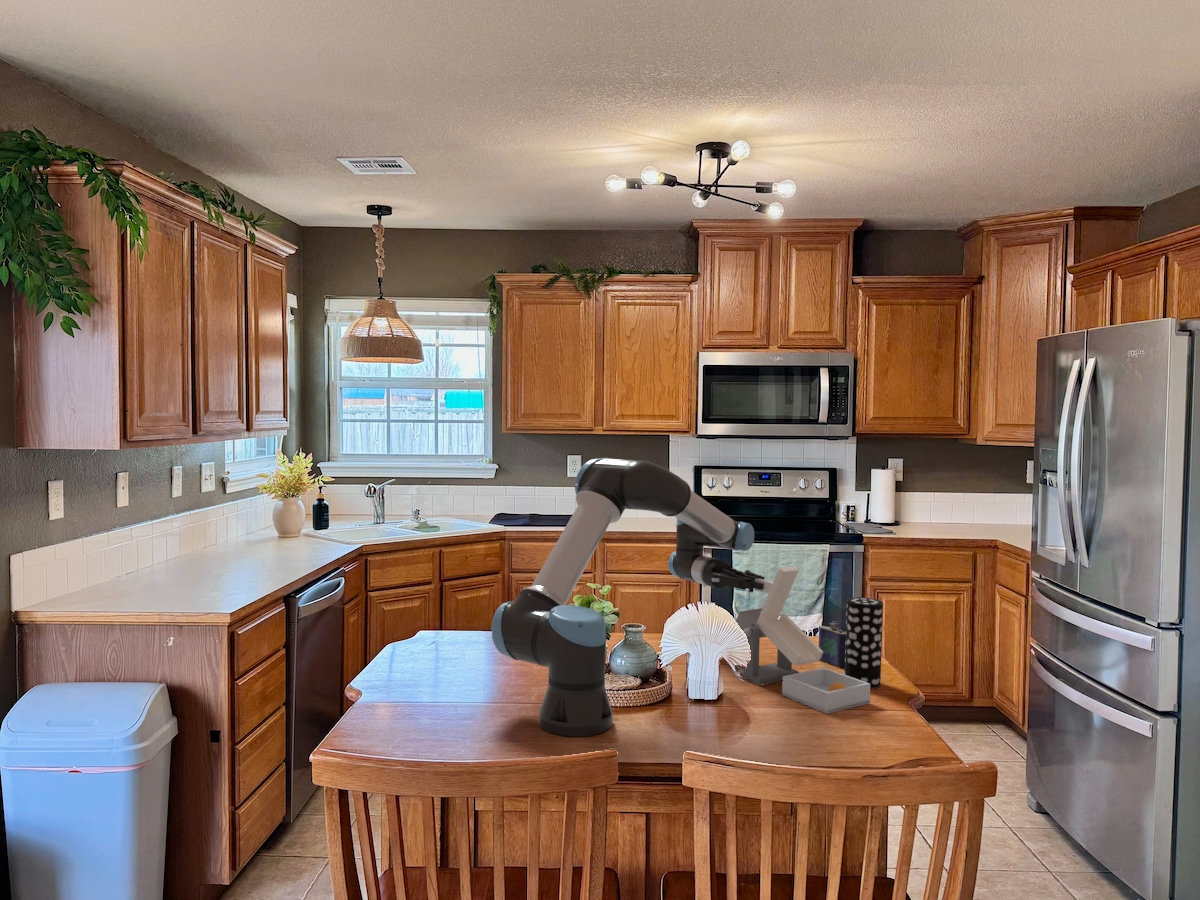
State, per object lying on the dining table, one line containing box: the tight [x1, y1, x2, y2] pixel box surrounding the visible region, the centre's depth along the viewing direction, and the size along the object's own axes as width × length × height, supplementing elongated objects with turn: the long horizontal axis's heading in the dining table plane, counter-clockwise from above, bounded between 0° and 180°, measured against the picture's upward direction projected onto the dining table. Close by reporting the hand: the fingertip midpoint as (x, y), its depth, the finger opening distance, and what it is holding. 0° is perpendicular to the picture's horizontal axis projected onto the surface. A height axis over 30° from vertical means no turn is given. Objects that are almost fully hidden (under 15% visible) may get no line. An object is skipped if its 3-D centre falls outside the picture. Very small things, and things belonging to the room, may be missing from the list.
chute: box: [735, 565, 823, 667], centre depth 202 cm, size 21×8×22 cm, turn 32°
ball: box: [829, 683, 846, 691], centre depth 188 cm, size 4×4×4 cm
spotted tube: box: [844, 596, 884, 689], centre depth 203 cm, size 8×8×20 cm
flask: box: [818, 622, 846, 669], centre depth 219 cm, size 9×3×11 cm, turn 28°
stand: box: [738, 625, 800, 686], centre depth 207 cm, size 8×15×13 cm, turn 122°
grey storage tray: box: [781, 667, 871, 715], centre depth 191 cm, size 14×14×4 cm
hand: (775, 588), depth 205 cm, fingers closed
